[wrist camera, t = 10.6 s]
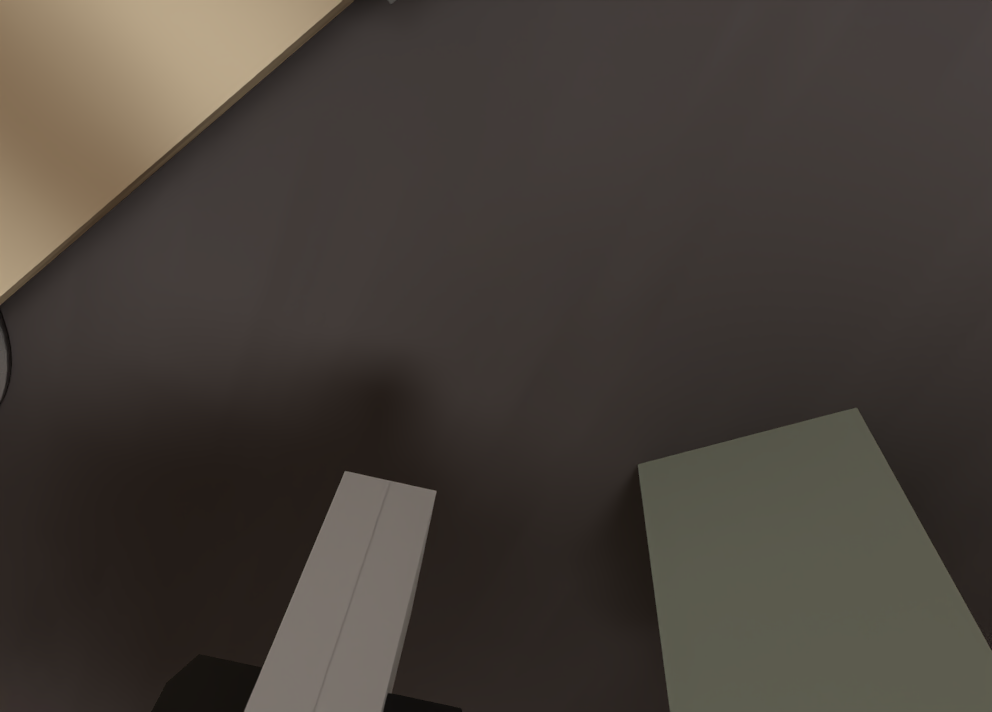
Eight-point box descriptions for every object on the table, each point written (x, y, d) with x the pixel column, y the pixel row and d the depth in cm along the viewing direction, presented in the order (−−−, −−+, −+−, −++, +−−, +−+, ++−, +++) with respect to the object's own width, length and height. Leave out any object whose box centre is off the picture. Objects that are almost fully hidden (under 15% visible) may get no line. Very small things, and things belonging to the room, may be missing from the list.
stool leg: (-125, 457, 21) (-256, 568, 17) (-321, 304, 19) (-509, 397, 15) (579, -126, 14) (585, -126, 10) (376, -458, 12) (305, -588, 8)
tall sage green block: (890, 567, 21) (1054, 911, 14) (691, 610, 22) (752, 948, 15) (856, 407, 19) (1030, 722, 12) (637, 464, 20) (678, 780, 13)
